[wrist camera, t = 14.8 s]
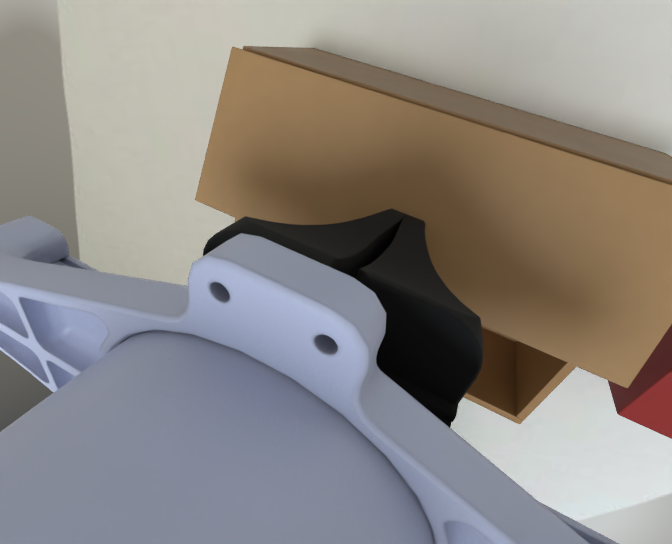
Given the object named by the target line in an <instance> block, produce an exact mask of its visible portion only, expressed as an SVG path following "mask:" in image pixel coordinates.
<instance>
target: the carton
mask: <svg viewBox="0 0 672 544" xmlns="http://www.w3.org/2000/svg"><path fill="white" fill-rule="evenodd" d="M243 50H245V51H248V52H251V53H254V54H258V55H261V56H264V57H267V58H270V59H273V60H277V61H280V62H283V63H286V64H289V65H292V66H296V67H299V68H302V69H305V70H308V71H311V72H315V73H318V74H321V75H324V76H327V77H330V78H334V79H337V80H340V81H343V82H346V83H349V84H353V85H356V86H359V87H362V88H365V89H368V90H372V91H375V92H378V93H381V94H384V95H387V96H391V97H394V98H397V99H400V100H403V101H406V102H410V103H413V104H416V105H419V106H422V107H425V108H429V109H432V110H435V111H438V112H441V113H444V114H448V115H451V116H454V117H457V118H460V119H463V120H467V121H470V122H473V123H476V124H479V125H482V126H486V127H489V128H492V129H495V130H498V131H501V132H505V133H508V134H511V135H514V136H517V137H520V138H524V139H527V140H530V141H533V142H536V143H539V144H543V145H546V146H549V147H552V148H555V149H558V150H562V151H565V152H568V153H571V154H574V155H577V156H581V157H584V158H587V159H590V160H593V161H596V162H600V163H603V164H606V165H609V166H612V167H615V168H619V169H622V170H625V171H628V172H631V173H634V174H638V175H641V176H644V177H647V178H650V179H653V180H657V181H660V182H663V183H666V184H669V185H672V157H671V156H669V155H668V154H665V153H662V152H658V151H655V150H652V149H648V148H645V147H642V146H638V145H635V144H632V143H628V142H625V141H622V140H618V139H615V138H612V137H608V136H605V135H602V134H598V133H595V132H592V131H588V130H585V129H582V128H578V127H575V126H572V125H568V124H565V123H562V122H558V121H555V120H552V119H548V118H545V117H542V116H538V115H535V114H532V113H528V112H525V111H522V110H518V109H515V108H512V107H508V106H505V105H502V104H498V103H495V102H492V101H488V100H485V99H482V98H478V97H475V96H472V95H468V94H465V93H462V92H458V91H455V90H452V89H448V88H445V87H442V86H438V85H435V84H432V83H428V82H425V81H422V80H418V79H415V78H412V77H408V76H405V75H402V74H398V73H395V72H392V71H388V70H385V69H382V68H378V67H375V66H372V65H368V64H365V63H362V62H358V61H355V60H352V59H348V58H345V57H342V56H338V55H335V54H331V53H328V52H325V51H321V50H318V49H315V48H292V47H255V46H243ZM238 220H240V219H237V218H235V222H236V221H238ZM481 326H482V334H483V362H482V368H481V370H480V372H479V374H478V376H477V379H476V380H475V381H474V383H473V384H472V385H471V387H470V388H469V389H468V391H467V392H466V393H465V395H464V396H463V397H464V398H466V399H468V400H470V401H472V402H474V403H477V404H479V405H481V406H483V407H485V408H487V409H489V410H491V411H493V412H495V413H497V414H499V415H501V416H503V417H505V418H507V419H510V420H512V421H514V422H516V423H518V424H521V423H522V421H523V420H524V419H525V418H526V417H527V416H528V415H529V414H530V413H531V412H532V411H533V410H534V409H535V408H536V407H537V406H538V405H539V404H540V403H541V402H542V401H543V400H544V399H545V398H546V397H547V396H548V395H549V394H550V393H551V392H552V391H553V390H554V389H555V388H556V387H557V386H558V385H559V384H560V383H561V382H562V381H563V380H564V379H565V378H566V377H567V376H568V375H569V374H570V373H571V372H572V371H573V370H574V369H575V367H576V366H575V365H572V364H570V363H568V362H565V361H563V360H561V359H558V358H556V357H554V356H552V355H549V354H547V353H545V352H542V351H540V350H538V349H536V348H533V347H531V346H529V345H526V344H524V343H522V342H519V341H517V340H515V339H513V338H510V337H508V336H506V335H503V334H501V333H499V332H497V331H494V330H492V329H490V328H487V327H485V326H483V325H481Z"/></svg>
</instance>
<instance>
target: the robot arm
mask: <svg viewBox="0 0 672 544" xmlns="http://www.w3.org/2000/svg"><path fill="white" fill-rule="evenodd" d="M425 226H426V225H425V222H424V221H423V220H420V219H418V218H415V217H412V216H410V215H407V214H405V213H402V212H400V211H397V210H394V209H388V210H385V211H382V212H379V213H376V214H373V215H370V216H367V217H363V218H359V219H355V220H351V221H347V222H341V223H334V224H324V225H297V224H286V223H278V222H271V221H266V220H261V219H256V218H251V217H247V216H245V217H243V218H241V219H240V220H238V221H236V222H235V223H233V224H231V225H230V226H228V227H226V228H225V229H223V230H221V231H220V232H218V233H216V234H215V235H214V236H213V237H212V238H210V239H209V240H208V242H207V244H206V246H205V248H204V252H203V257H201V258H200V259H198V260H197V261H195V262H194V263H192V266H191V270H190V273H189V277H188V286H185V285H179V284H173V283H167V282H161V281H154V280H148V279H142V278H136V277H130V276H123V275H117V274H111V273H105V272H100V271H98V270H96V269H94V268H92V267H90V266H88V265H87V264H85V263H83V262H81V261H79V260H77V259H75V258H73V257H71V256H69V248H68V244H67V241H66V239H65V237H64V236H63V235H62V233H61V232H60V231H59V230H57V229H56V228H54V227H52V226H50V225H48V224H46V223H44V222H42V221H40V220H38V219H36V218H34V217H32V216H26V217H23V218H20V219H17V220H14V221H11V222H8V223H5V224H2V225H0V350H1V351H3V352H4V353H5V354H7V355H8V356H9V357H11V358H12V359H13V360H14V361H16V362H17V363H18V364H19V365H21V366H22V367H23V368H25V369H26V370H27V371H28V372H30V373H31V374H32V375H33V376H35V377H36V378H37V379H38V380H39V381H40V382H42V383H43V384H44V385H45V386H47V387H48V388H49V389H50V390H51V391H53V392H54V393H53V394H51V395H50V396H49V397H47V398H46V399H45V400H43V401H42V402H40V403H39V404H38V405H37V406H35V407H34V408H32V409H31V410H30V411H28V412H27V413H26V414H24V415H23V416H21V417H20V418H19V419H17V420H16V421H15V422H13V423H12V424H11V425H9V426H8V427H6V428H5V429H4V430H2V431H1V432H0V544H618V543H616V542H615V541H613V540H611V539H609V538H607V537H605V536H603V535H601V534H599V533H597V532H596V531H594V530H592V529H590V528H588V527H586V526H584V525H582V524H580V523H578V522H577V521H575V520H573V519H571V518H569V517H567V516H565V515H563V514H561V513H559V512H557V511H556V510H554V509H552V508H550V507H548V506H546V505H544V504H542V503H540V502H538V501H537V500H536V499H535V498H534V497H532V496H531V495H530V494H529V493H528V492H526V491H525V490H524V489H523V488H522V487H520V486H519V485H518V484H517V483H516V482H514V481H513V480H512V479H511V478H510V477H508V476H507V475H506V474H505V473H504V472H502V471H501V470H500V469H499V468H498V467H496V466H495V465H494V464H493V463H491V462H490V461H489V460H488V459H487V458H485V457H484V456H483V455H482V454H481V453H479V452H478V451H477V450H476V449H475V448H473V447H472V446H471V445H470V444H469V443H467V442H466V441H465V440H464V439H463V438H461V437H460V436H459V435H458V434H457V433H455V432H454V431H453V430H452V429H451V428H450V425H451V422H453V420H454V419H455V417H456V413H457V407H458V403H459V402H460V400H461V399H462V398H463V396H464V395H465V393H466V392H467V391H468V389H469V388H470V387H471V385H472V384H473V383H474V381H475V380H476V379H477V376H478V374H479V372H480V370H481V368H482V362H483V334H482V326H481V319H480V317H479V316H478V315H477V314H475V313H474V312H473V311H472V310H470V309H469V308H468V307H467V306H465V305H464V304H463V303H462V302H461V301H460V300H459V299H458V298H457V297H456V296H455V295H454V294H453V293H452V292H451V291H450V290H449V289H448V287H447V286H446V285H445V284H444V282H443V281H442V279H441V278H440V277H439V275H438V273H437V272H436V270H435V268H434V266H433V264H432V261H431V259H430V256H429V252H428V249H427V244H426V238H425Z"/></svg>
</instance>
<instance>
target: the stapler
mask: <svg viewBox="0 0 672 544" xmlns="http://www.w3.org/2000/svg"><path fill="white" fill-rule="evenodd" d="M608 383H609V386H610V390H611V393H612V397H613V400H614V404H615V407H616V411H617V414H619V415H620V416H623V417H625V418H627V419H629V420H632V421H634V422H636V423H638V424H640V425H643V426H645V427H647V428H649V429H651V430H654V431H656V432H658V433H660V434H662V435H665V436H667V437H669V438H671V439H672V324H671V326H670V327H669V329H668V330H667V332H666V333H665V334H664V336H663V337H662V339H661V340H660V342H659V343H658V345H657V346H656V348H655V349H654V351H653V352H652V353H651V355H650V356H649V358H648V359H647V361H646V362H645V364H644V365H643V367H642V368H641V370H640V371H639V372H638V374H637V375H636V377H635V378H634V380H633V381H632V383H631V384H630V386H629V387H628V388H625V387H623V386H620V385H618V384H616V383H613V382H611V381H609V380H608Z"/></svg>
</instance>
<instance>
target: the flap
mask: <svg viewBox="0 0 672 544" xmlns="http://www.w3.org/2000/svg"><path fill="white" fill-rule="evenodd" d="M195 200H196V201H199V202H201V203H203V204H205V205H208V206H210V207H212V208H215V209H217V210H219V211H221V212H224V213H226V214H228V215H231V216H233V217H235V218H237V219H241V218H243V217H245V216H247V217H251V218H256V219H261V220H266V221H271V222H278V223H286V224H297V225H324V224H334V223H341V222H347V221H351V220H355V219H359V218H363V217H367V216H370V215H373V214H376V213H379V212H382V211H385V210H388V209H394V210H397V211H400V212H402V213H405V214H407V215H410V216H412V217H415V218H418V219H420V220H423V221H424V222H425V225H426V226H425V238H426V244H427V249H428V252H429V256H430V259H431V261H432V264H433V266H434V268H435V270H436V272H437V273H438V275H439V277H440V278H441V279H442V281H443V282H444V284H445V285H446V286H447V287H448V289H449V290H450V291H451V292H452V293H453V294H454V295H455V296H456V297H457V298H458V299H459V300H460V301H461V302H462V303H463V304H464V305H465V306H467V307H468V308H469V309H470V310H472V311H473V312H474V313H475V314H477V315H478V316H479V317H480V319H481V325H483V326H485V327H487V328H490V329H492V330H494V331H497V332H499V333H501V334H503V335H506V336H508V337H510V338H513V339H515V340H517V341H519V342H522V343H524V344H526V345H529V346H531V347H533V348H536V349H538V350H540V351H542V352H545V353H547V354H549V355H552V356H554V357H556V358H558V359H561V360H563V361H565V362H568V363H570V364H572V365H575V366H577V367H579V368H581V369H584V370H586V371H588V372H591V373H593V374H595V375H597V376H600V377H602V378H604V379H607V380H609V381H611V382H613V383H616V384H618V385H620V386H623V387H625V388H628V387H629V386H630V384H631V383H632V381H633V380H634V378H635V377H636V375H637V374H638V372H639V371H640V370H641V368H642V367H643V365H644V364H645V362H646V361H647V359H648V358H649V356H650V355H651V353H652V352H653V351H654V349H655V348H656V346H657V345H658V343H659V342H660V340H661V339H662V337H663V336H664V334H665V333H666V332H667V330H668V329H669V327H670V326H671V324H672V185H669V184H666V183H663V182H660V181H657V180H653V179H650V178H647V177H644V176H641V175H638V174H634V173H631V172H628V171H625V170H622V169H619V168H615V167H612V166H609V165H606V164H603V163H600V162H596V161H593V160H590V159H587V158H584V157H581V156H577V155H574V154H571V153H568V152H565V151H562V150H558V149H555V148H552V147H549V146H546V145H543V144H539V143H536V142H533V141H530V140H527V139H524V138H520V137H517V136H514V135H511V134H508V133H505V132H501V131H498V130H495V129H492V128H489V127H486V126H482V125H479V124H476V123H473V122H470V121H467V120H463V119H460V118H457V117H454V116H451V115H448V114H444V113H441V112H438V111H435V110H432V109H429V108H425V107H422V106H419V105H416V104H413V103H410V102H406V101H403V100H400V99H397V98H394V97H391V96H387V95H384V94H381V93H378V92H375V91H372V90H368V89H365V88H362V87H359V86H356V85H353V84H349V83H346V82H343V81H340V80H337V79H334V78H330V77H327V76H324V75H321V74H318V73H315V72H311V71H308V70H305V69H302V68H299V67H296V66H292V65H289V64H286V63H283V62H280V61H277V60H273V59H270V58H267V57H264V56H261V55H258V54H254V53H251V52H248V51H245V50H242V49H239V48H235V47H232V49H231V53H230V58H229V62H228V66H227V70H226V74H225V78H224V82H223V86H222V91H221V95H220V99H219V103H218V107H217V111H216V115H215V119H214V124H213V128H212V132H211V136H210V140H209V144H208V148H207V152H206V157H205V161H204V165H203V169H202V173H201V177H200V181H199V185H198V189H197V194H196V198H195Z"/></svg>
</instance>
